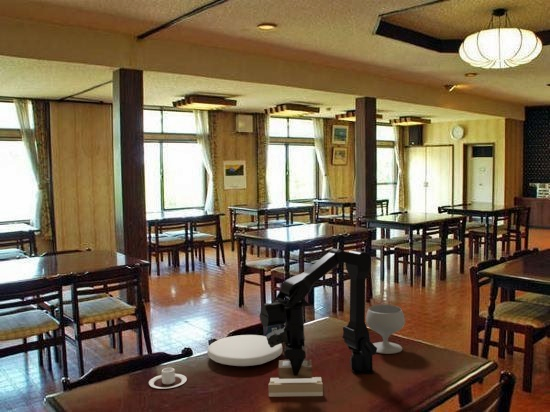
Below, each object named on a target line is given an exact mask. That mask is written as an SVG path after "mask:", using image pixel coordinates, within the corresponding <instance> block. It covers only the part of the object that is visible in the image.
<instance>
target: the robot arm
mask: <svg viewBox="0 0 550 412" xmlns="http://www.w3.org/2000/svg"><path fill="white" fill-rule="evenodd" d="M340 263H343V264H345V270H346V272H347V274H348V276H349V322H348V323H347V325H346V326H345V325H343V327H342V332H343V333H342V334H343V335H342V339H343V342H344V343H345V345H347V347H348V349H349V350H350V351H351V352H352V353H351V354H352V355H350V369H351V371H352V372H353V374H354V375H359V374H360V375H362V374H366V375H367V374H369V375H370V374H372V375H373V374H374V373H375V371H374V369H373V365H374V364H373V356H376V354H377V352H376V351H377V348H376V347H375V346H374V345H373V343H372V342H371V338H370V337H371V336H370V332H369V329H368V325H367V324H366V279H367V277H368V275H369V274H370V272H371V267H372V256H371V255H370V254H369V253H368V252H365V251H361V250H357V249H352V250H349V251H344V250H343V249H339V248H331V249H330V250H329V251H328V253H325V255H324V256H322V257H321V258H320V259H318V260H317V261H316V262H314V263H313V264H312V265H310V266H309V268H307V269H305V271H304V272H302V273H299V274H296V275H293V276H292V277H290V278H287V279H286V280H284V281H283V282H282V284H281V286H280V287H281V288H280V290H279V292H278V293H277V295H276V297H275V298H274V302H272V303H266V302H265V303H263V304H262V308H261V309H260V313H259V320H260V323H261V325H262V326H264V327H271V326H276V325H281V326H282V325H283V327H281V329H279V330H276V331H274V332H271V333H269V334H267V341H268V344H269V345H270V347H271V348H272V347H274V346H276V345H278V344H283V345H285V347H284V350H283V351H284V352H283V356H284V357H283V360H290V362H291V366H292V370H293V374H294V376H297V375H298V373H299V370H300V368H301V365H302V363H303V360H306V358H307V357H306V347H305V346H306V345H305V340H306V339H305V336H306V335H305V331H304V330H305V327H304V323H305V321H304V307H310V305H311V304H310V303H309V302H308V301H307V300H306V299H305V297H306V296H307V295H309V293H310V291H311V290H312V287H313V285H315V283H317V282H318V281H319V280H321V279H322V278H323V277H324V276H325V275H326V274H327V273H329V272H330V271H332V270H333V269H334V268H335V267H336V266H338V265H339V264H340Z"/></svg>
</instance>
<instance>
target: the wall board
mask: <svg viewBox="0 0 550 412" xmlns="http://www.w3.org/2000/svg"><path fill="white" fill-rule="evenodd" d="M269 379H270V380H269V383H268V385H267V386H268V397H271V398H272V397H276V398H277V397H278V398H279V397H323V396H324V384H323V383H324V382H322V381H323V380H322V377H321V376H315V377H314V376H312V378H302V379H279V377H270V378H269Z"/></svg>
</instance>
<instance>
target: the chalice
mask: <svg viewBox="0 0 550 412" xmlns="http://www.w3.org/2000/svg"><path fill="white" fill-rule="evenodd" d="M365 324H366V326H367V328H369V329H370V330H371V331H374V332H376V333H377V334H379V335H380V336H381V338H382V341H379V342H374V343H372V344H373V345H374V346H375V347H376V348H377V351H376V354H377V353H378V354H383V355H387V354H388V355H391V354H397V353H401V352H402V351H403V349H404V348H403V347H402V346H401V344H398V343H395V342H391V341H389V337H390V336H391V335H394V334H395V333H397V332H399V331H401V330H402V329H403V328H404V326H405V324H406V318H405V314H404V311H403V310H402V308H401V307H400V306H396V305H392V304H374V305H372V306H369V308H367V311H366V314H365Z"/></svg>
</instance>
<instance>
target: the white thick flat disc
mask: <svg viewBox="0 0 550 412" xmlns="http://www.w3.org/2000/svg"><path fill="white" fill-rule="evenodd" d="M282 353H283V343H281V344H278V345H276V346H274V347H272V348H271V347H270V345H269V344H268V341H267V337H266V336H264V335H259V334H240V335H233V336H232V335H231V336H227V337H223V338H220V339H218V340H217V339H216V341H214V342H212V343H210V344H209V346H208V347H207V355H208V356H207V357H208V358H209V359H211V360H212V361H213V362H215V363H219V364H221V365H228V366H236V367H249V366H252V367H253V366H258V365H259V366H260V365H263V364H265V363H266V364H267V363H268V362H270V361H273V360H275V359H276V358H278V357H279V356H281V355H282Z"/></svg>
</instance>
